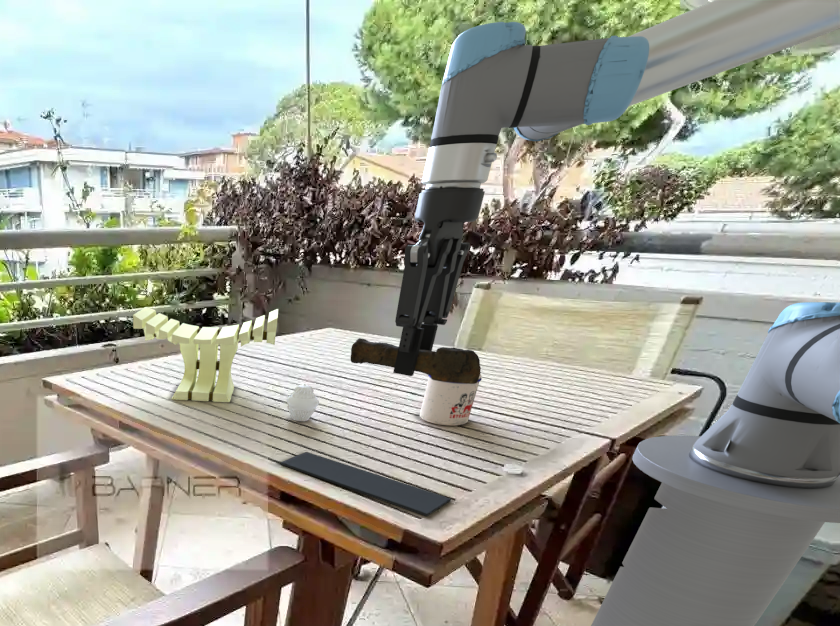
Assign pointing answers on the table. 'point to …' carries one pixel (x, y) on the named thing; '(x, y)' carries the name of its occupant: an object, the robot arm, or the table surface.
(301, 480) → the table surface
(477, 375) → the hand tool
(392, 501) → the edge strip
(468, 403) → the teacup with lid
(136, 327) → the slatted curved stool
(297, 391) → the white ribbed jar
